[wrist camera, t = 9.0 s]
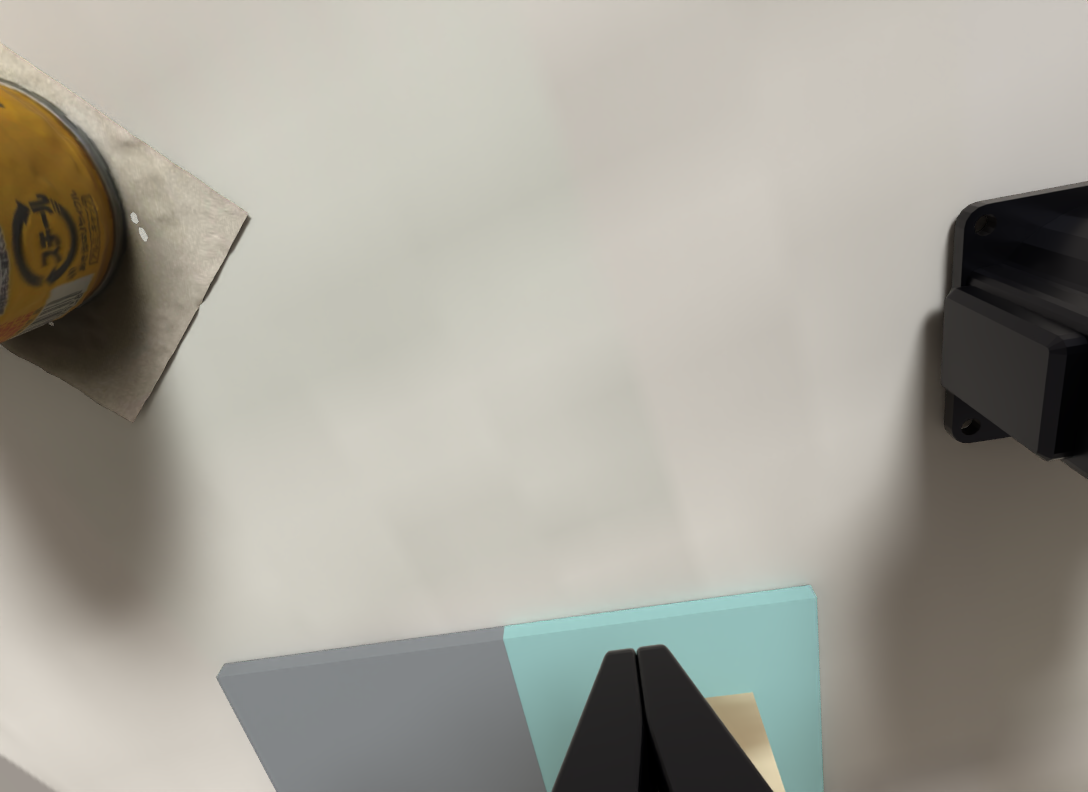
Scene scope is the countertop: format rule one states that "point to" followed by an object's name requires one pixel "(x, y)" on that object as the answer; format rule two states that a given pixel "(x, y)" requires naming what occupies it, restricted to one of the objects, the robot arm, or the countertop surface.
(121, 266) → the condiment
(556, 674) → the runner mat
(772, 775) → the beech block
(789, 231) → the countertop surface
